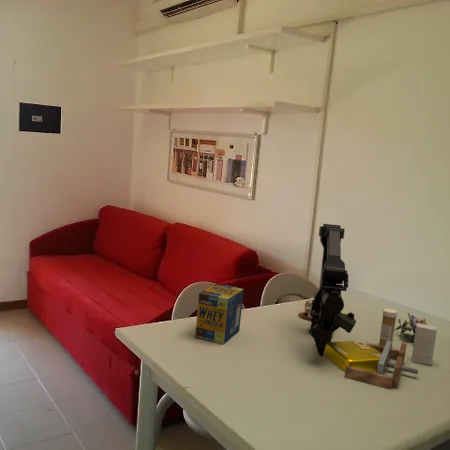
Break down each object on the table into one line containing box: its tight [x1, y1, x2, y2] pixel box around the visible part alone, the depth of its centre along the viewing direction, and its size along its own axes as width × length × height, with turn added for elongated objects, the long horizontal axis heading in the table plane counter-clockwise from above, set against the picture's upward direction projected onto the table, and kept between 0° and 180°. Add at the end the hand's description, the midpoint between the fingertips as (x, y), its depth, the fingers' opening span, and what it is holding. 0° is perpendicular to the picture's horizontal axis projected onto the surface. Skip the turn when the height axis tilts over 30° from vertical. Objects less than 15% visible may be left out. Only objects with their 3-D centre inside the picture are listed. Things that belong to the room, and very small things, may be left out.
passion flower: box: [394, 312, 428, 338], centre depth 181 cm, size 11×11×12 cm
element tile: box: [323, 340, 389, 373], centre depth 156 cm, size 15×15×5 cm
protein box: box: [195, 283, 245, 345], centre depth 168 cm, size 10×15×16 cm
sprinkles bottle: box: [378, 308, 398, 348], centre depth 170 cm, size 5×5×13 cm
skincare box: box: [411, 323, 437, 366], centre depth 160 cm, size 6×4×12 cm
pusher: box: [376, 341, 419, 375], centre depth 150 cm, size 10×21×6 cm, turn 155°
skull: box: [298, 296, 314, 320], centre depth 197 cm, size 12×10×10 cm
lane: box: [344, 341, 407, 390], centre depth 152 cm, size 14×25×6 cm, turn 155°
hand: (324, 350), depth 159 cm, fingers open, 9 cm apart
